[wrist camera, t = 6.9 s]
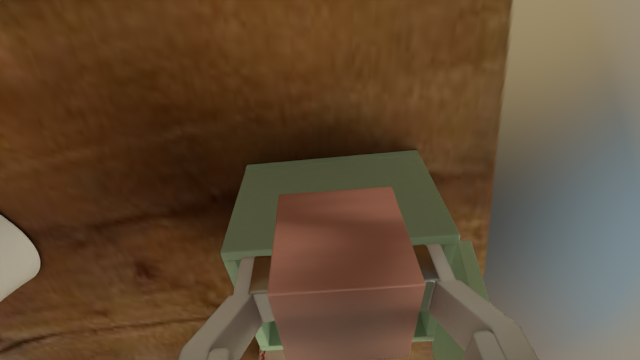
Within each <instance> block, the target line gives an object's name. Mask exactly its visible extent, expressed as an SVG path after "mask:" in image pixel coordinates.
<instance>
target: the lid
mask: <svg viewBox="0 0 640 360" xmlns="http://www.w3.org/2000/svg"><path fill="white" fill-rule="evenodd" d="M451 270H452V272H453V274H454V276H455V278H456V280H461V281H462V282H464V283H465V284H466V285H467V286H469V287H470V288H471V289H473V290H474V291H475V292H476V293H478V294H479V295H480V296H482V297H483V298H484V299H485V300H487V301H488V302H489V303H490V301H489V298H488V294H487V291H486V288H485V284H484V281H483V278H482V275H481V272H480V268H479V265H478V262H477V259H476V255H475V252H474V249H473V246H472V242H471V241H457V243H456V247H455V251H454V255H453V260H452V264H451ZM432 350H433V358H434V360H461V359H462V357H463V355H464V353H465V351H464V350H463V349H462V348H461V347H460V346H459V345H458V344H457V342H456V341H455V340H454V339H453V338H452V337H451V336H450V335H449V334H448V333H447V332H446V331H445V329H444V328H443V327H442V326H441V325H440V324H439V323H437V327H436V331H435V335H434V340H433V344H432Z"/></svg>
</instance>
